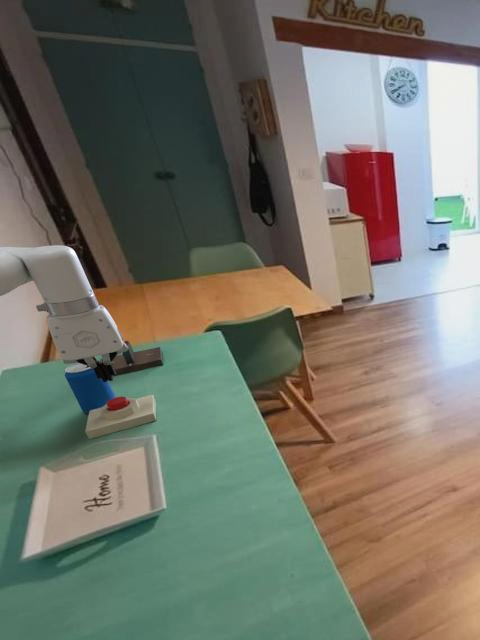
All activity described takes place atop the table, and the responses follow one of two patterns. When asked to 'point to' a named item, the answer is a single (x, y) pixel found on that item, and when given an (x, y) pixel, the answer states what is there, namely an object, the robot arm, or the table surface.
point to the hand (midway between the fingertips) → (108, 378)
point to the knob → (128, 353)
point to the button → (117, 403)
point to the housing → (121, 417)
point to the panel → (138, 361)
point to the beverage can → (88, 387)
